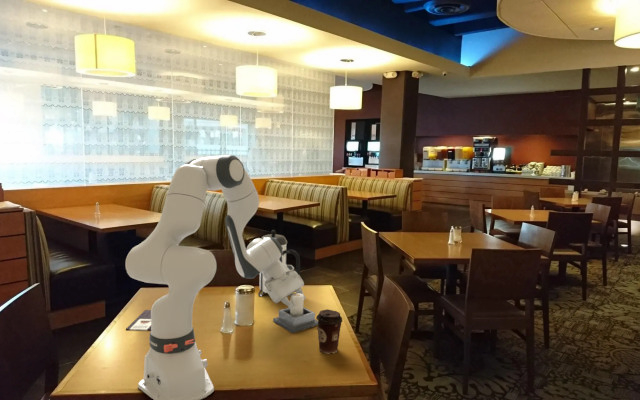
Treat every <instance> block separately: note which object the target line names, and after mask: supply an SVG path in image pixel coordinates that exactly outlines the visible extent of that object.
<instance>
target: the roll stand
mask: <svg viewBox="0 0 640 400" xmlns="http://www.w3.org/2000/svg"><path fill="white" fill-rule="evenodd" d="M315 314H316V313H315V312H314V311H313V310H310V309H309V308H306V307H305V306H303V315H301V316H297V317H293V316H291V315H290V308H289V307H286V308H282V309H278V317H274V318H273V319H272V322H274V323H275V324H277V325H278V326H280V327H282V328H283V329H284V330H286V331H288V332H289V333H291V334H295V333H299V332H301V331H304V329H305V330H308V329H311V328H314V327H313V326H315V327H317V326H316V325H318V320H317V319H316V315H315ZM310 327H311V328H310ZM307 328H308V329H307Z"/></svg>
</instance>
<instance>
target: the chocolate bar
mask: <svg viewBox="0 0 640 400" xmlns="http://www.w3.org/2000/svg"><path fill="white" fill-rule="evenodd" d="M125 330H126V331H148V332H149V331H150V332H151V309H145V310H144V311H142V313H141V314H140V315H138V316H137V317H136V318H135V320H134V321H132V322H131V323H130V324H129V325H128V326H127V327H126V329H125Z"/></svg>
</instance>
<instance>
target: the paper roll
mask: <svg viewBox="0 0 640 400" xmlns="http://www.w3.org/2000/svg"><path fill="white" fill-rule="evenodd" d="M303 294H304V293H303ZM303 294H300V293H296V292H294V293H292V294H291V295H290V300H289V301H290V302H293V304H294V305H295V306H294V307H293V308H291V309H290V315H291V316H293V317H297V316H301V315H303V307H304V300H305V299H304V296H305V294H304V295H303Z"/></svg>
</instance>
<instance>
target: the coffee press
mask: <svg viewBox="0 0 640 400" xmlns="http://www.w3.org/2000/svg"><path fill="white" fill-rule="evenodd" d="M267 237H273V238H276V239H277V241H278V242H279V243H280V244H281V246H282V248H283V252H282V256H281V257H280V258H279V259H278V260H279V261H281V262H282V264H285V265H287V254H290V255H293V256H294V257H295V271H296V272H297V273H298V275H299V276H300V273H301V272H300V271H301V258H300V255H299V253H298V252H297V251H296V250H293V249H287V244H288V240H287V239H286V237H285V236H284V235H282V234H277V231H276V230H275V229H272V230H271V231H270V234H265V235H263V236H261V239H264V238H267ZM265 281H266V279H265V278H264V276H263V275H262V272H260V274H259V291H258V293H257V295H258V296H259V297H262V296H263V295H264V294H268V292H267V290H266V287H265Z"/></svg>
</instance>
